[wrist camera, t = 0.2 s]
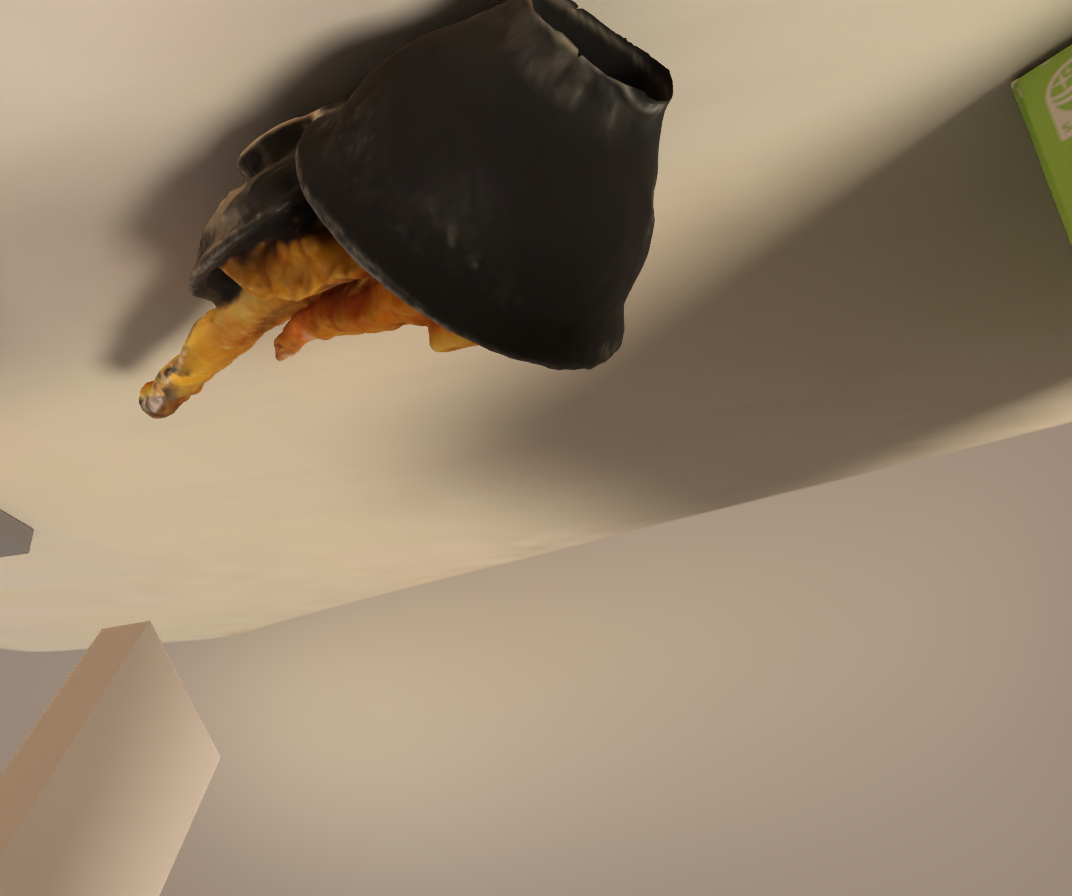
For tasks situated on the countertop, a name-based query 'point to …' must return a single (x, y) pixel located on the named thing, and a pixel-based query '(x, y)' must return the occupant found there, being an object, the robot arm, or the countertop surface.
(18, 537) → the socket board
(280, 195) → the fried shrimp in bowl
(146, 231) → the countertop surface
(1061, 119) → the green cardboard box
